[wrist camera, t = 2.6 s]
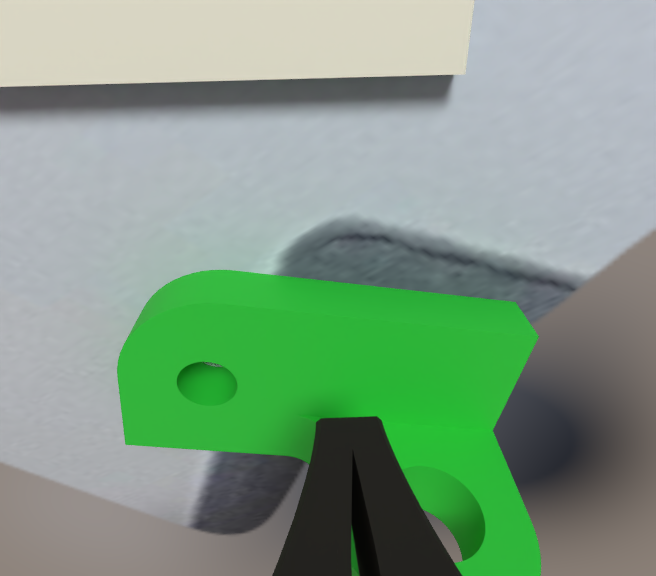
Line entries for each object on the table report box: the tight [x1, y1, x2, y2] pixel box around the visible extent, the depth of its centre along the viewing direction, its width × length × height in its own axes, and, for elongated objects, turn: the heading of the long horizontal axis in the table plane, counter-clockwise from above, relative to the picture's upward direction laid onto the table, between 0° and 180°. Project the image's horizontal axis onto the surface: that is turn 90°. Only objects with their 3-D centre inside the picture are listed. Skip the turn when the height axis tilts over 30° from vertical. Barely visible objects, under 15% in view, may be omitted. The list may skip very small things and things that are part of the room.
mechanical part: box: [117, 270, 541, 576], centre depth 13 cm, size 12×6×8 cm, turn 81°
